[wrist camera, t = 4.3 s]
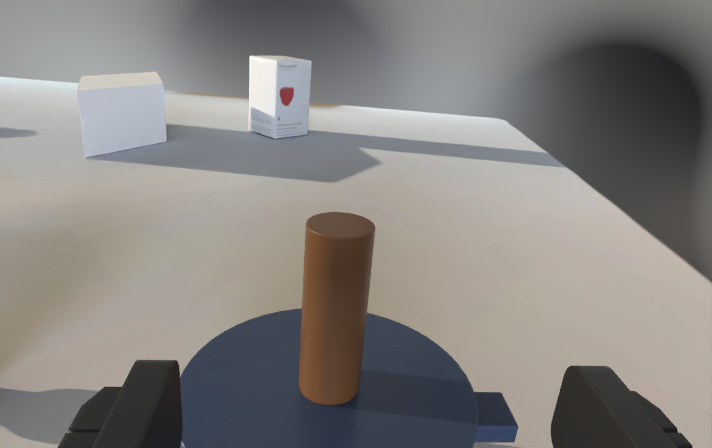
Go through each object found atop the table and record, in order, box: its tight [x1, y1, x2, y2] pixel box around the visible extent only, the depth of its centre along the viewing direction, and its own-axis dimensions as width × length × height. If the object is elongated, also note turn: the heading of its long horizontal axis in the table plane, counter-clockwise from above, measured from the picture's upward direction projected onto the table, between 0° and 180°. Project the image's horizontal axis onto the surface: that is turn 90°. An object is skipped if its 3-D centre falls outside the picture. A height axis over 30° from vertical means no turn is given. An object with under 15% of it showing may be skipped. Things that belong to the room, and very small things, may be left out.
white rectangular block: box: [77, 72, 167, 158], centre depth 93 cm, size 14×29×10 cm, turn 177°
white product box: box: [249, 56, 311, 139], centre depth 105 cm, size 9×9×15 cm
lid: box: [180, 212, 478, 448], centre depth 23 cm, size 14×14×9 cm
